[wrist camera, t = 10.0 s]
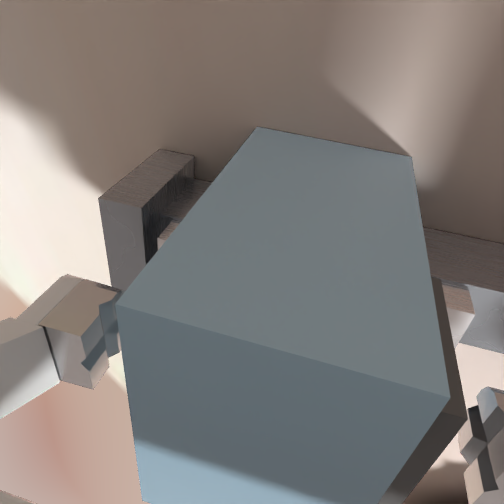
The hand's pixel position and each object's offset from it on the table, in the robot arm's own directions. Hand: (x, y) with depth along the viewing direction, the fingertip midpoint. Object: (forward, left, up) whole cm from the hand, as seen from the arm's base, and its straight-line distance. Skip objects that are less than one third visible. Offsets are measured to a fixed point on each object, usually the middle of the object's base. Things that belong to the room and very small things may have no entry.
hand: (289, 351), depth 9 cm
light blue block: (0, 0, -5) cm, 5 cm away
